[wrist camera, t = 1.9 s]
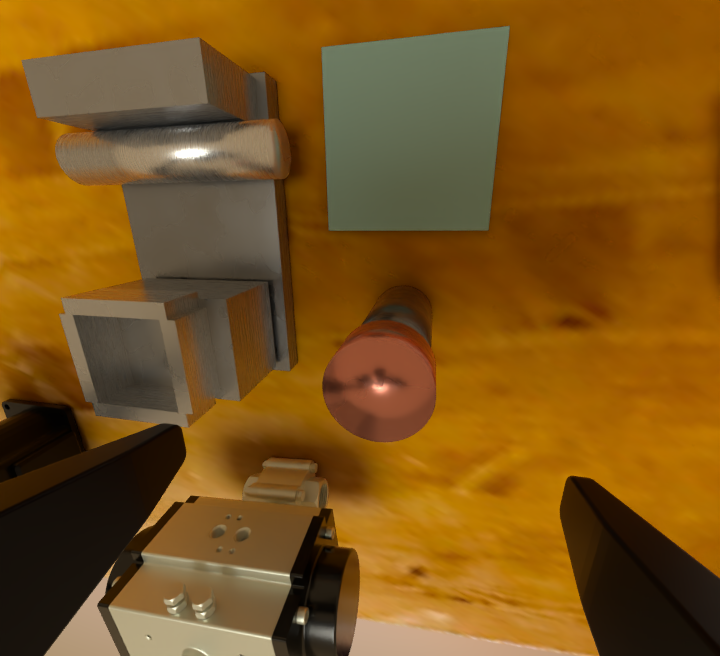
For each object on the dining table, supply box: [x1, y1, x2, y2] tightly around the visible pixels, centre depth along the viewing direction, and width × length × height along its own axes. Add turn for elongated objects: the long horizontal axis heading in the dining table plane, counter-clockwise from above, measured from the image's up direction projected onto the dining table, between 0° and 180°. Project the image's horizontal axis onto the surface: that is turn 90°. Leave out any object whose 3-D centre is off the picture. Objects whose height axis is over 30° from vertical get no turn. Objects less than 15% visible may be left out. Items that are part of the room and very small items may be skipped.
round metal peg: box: [323, 286, 436, 442], centre depth 15 cm, size 4×4×9 cm
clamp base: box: [22, 37, 298, 371], centre depth 18 cm, size 15×11×5 cm
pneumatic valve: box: [97, 457, 360, 656], centre depth 19 cm, size 6×12×12 cm, turn 97°
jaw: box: [59, 278, 276, 427], centre depth 17 cm, size 6×8×6 cm
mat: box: [321, 26, 510, 231], centre depth 16 cm, size 8×8×1 cm
